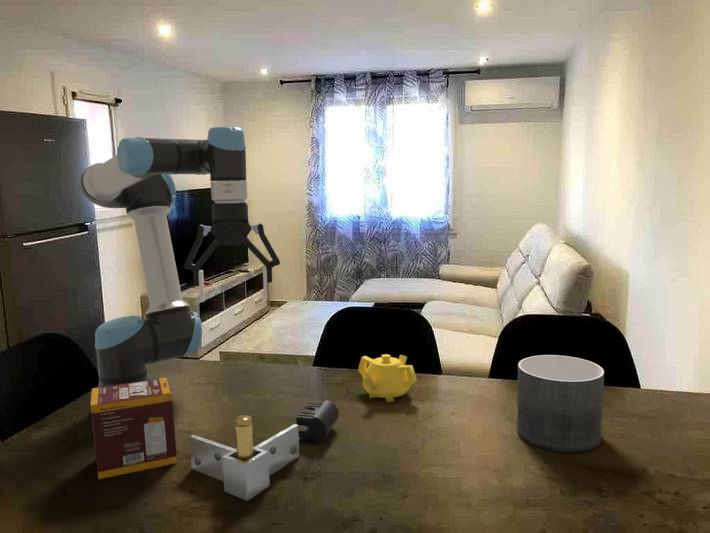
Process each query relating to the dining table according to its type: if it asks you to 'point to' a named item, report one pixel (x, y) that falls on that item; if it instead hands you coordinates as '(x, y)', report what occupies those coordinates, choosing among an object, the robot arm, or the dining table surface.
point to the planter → (560, 403)
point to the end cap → (317, 422)
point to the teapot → (386, 376)
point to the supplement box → (133, 427)
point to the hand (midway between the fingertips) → (234, 299)
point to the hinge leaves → (249, 474)
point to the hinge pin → (244, 437)
